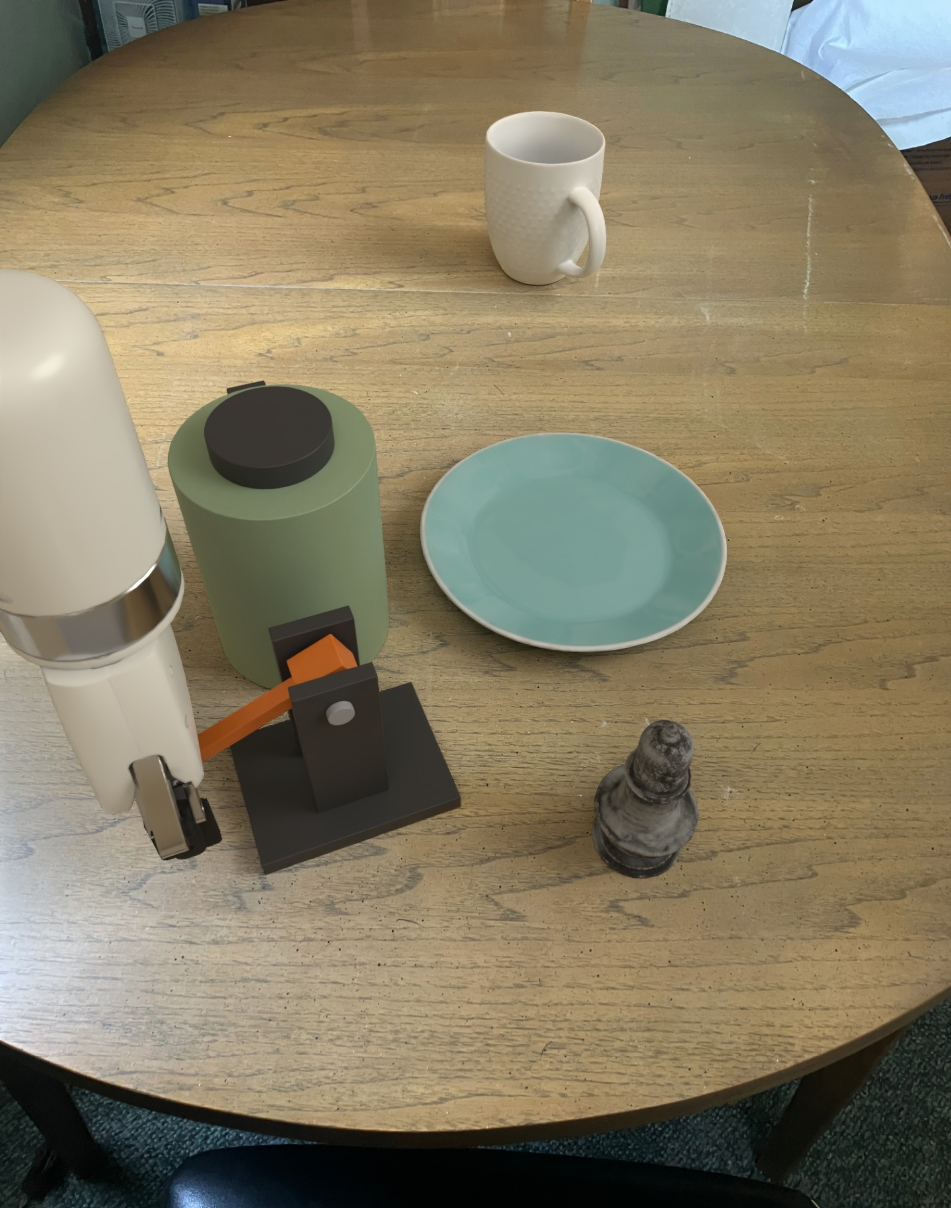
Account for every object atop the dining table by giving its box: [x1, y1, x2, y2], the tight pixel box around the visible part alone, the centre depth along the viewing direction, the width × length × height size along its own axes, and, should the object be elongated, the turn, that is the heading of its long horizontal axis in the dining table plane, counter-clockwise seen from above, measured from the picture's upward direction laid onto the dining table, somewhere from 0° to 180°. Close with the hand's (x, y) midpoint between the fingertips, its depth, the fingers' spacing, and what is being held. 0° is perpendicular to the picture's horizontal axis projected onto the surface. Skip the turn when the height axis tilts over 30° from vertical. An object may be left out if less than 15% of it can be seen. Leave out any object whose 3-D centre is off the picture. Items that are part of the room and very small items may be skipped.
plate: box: [419, 431, 728, 653], centre depth 69 cm, size 22×22×3 cm
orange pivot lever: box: [165, 634, 357, 802], centre depth 50 cm, size 12×5×2 cm, turn 112°
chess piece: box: [591, 719, 700, 879], centre depth 51 cm, size 6×6×12 cm
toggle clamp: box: [228, 606, 462, 876], centre depth 53 cm, size 12×9×13 cm
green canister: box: [167, 380, 390, 690], centre depth 60 cm, size 12×13×18 cm
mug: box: [483, 110, 607, 286], centre depth 90 cm, size 15×11×13 cm
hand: (179, 788), depth 52 cm, fingers open, 6 cm apart
